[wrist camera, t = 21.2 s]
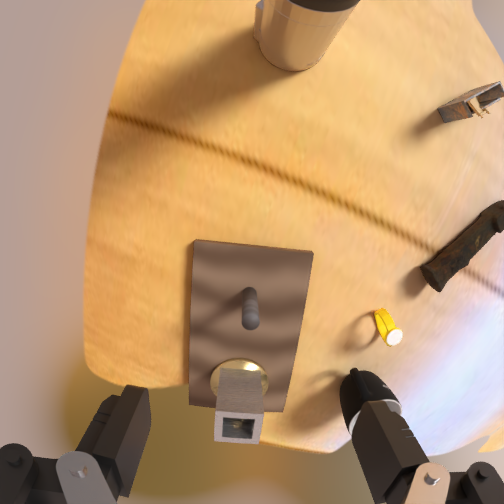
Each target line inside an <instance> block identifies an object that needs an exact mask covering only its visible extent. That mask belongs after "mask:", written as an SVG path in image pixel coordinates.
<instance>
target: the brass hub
mask: <svg viewBox="0 0 504 504" xmlns="http://www.w3.org/2000/svg"><path fill="white" fill-rule="evenodd" d="M220 367H222V368H233V369H245V370H260V372H261V384H262V396H264V395H265V393H266V391H267V389H268V376H267V373H266V371H265V369H264V368H263V367H262V366H261V365H260V364H258V363H257V362H255V361H253V360H250V359H247V358H231V359H227V360H225V361H223V362H221V363H220V364H218V365H217V366H216V367H215V368H214V370H213V372H212V375H211V380H210V385H211V389H212V391H213V393H214V394H215V395H216V396H217V393H218V384H219V376H220Z"/></svg>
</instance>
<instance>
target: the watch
mask: <svg viewBox="0 0 504 504" xmlns="http://www.w3.org/2000/svg"><path fill="white" fill-rule="evenodd" d="M374 316H375V320H376V324H377V328H378V330H379V333H380V335H381V337H382V339H383V340H384V342H385V343H386V345H387V346H390V347H391V346H393V345H396V344H397V343H399V342H400V341H401V339H402V336H403V333H402V331H401V330H400V329H399V328H397V327H396V326H395V324H394V322H393V319H392V318H391V316H390V314H389V313H388V312H387V310H386V309H384V308H381V309H379V310H377V311H375V313H374Z"/></svg>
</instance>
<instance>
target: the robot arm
mask: <svg viewBox="0 0 504 504" xmlns="http://www.w3.org/2000/svg"><path fill="white" fill-rule="evenodd" d="M359 1H360V0H261V1H259V2H258V3H257V4H256V10H255V24H254V38H255V39H256V40H257V41H258V42H259V46H260V50H261V52H262V54H263V55H264V57H265V58H266V59H267V60H268V61H269V62H270V63H271V64H273V65H275V66H277V67H278V68H281V69H284V70H289V71H301V70H306V69H308V68H311V67H312V66H314V65H315V64H316V63H317V62H318V61H319V60H320V59H321V57H322V56H323V55H324V53H325V51H326V50H327V48H328V47H329V45H330V44H331V42H332V41H333V39H334V38H335V36H336V35H337V33H338V32H339V30H340V29H341V27H342V26H343V24H344V23H345V21H346V20H347V18H348V17H349V15H350V14H351V13H352V11H353V10H354V8H355V7H356V5H357V4H358V2H359ZM150 427H151V412H150V403H149V394H148V389H147V388H144V387H138V386H133V385H126V387H125V388H124V390H123V392H122V394H121V396H116V395H111V396H110V397H108V398H107V399H106V400H104V401H103V402H102V404H101V405H100V407H99V409H98V411H97V413H96V414H95V416H94V418H93V421H91V423H90V425H89V427H88V428H87V431H86V432H85V434H84V436H83V438H82V439H81V441H80V443H79V445H78V447H77V448H76V450H75V451H72V452H68V453H65V454H64V455H62V456H61V457H60V458H59V459H49V458H41V457H33V456H32V454H31V452H30V451H29V450H28V449H27V448H26V447H25V446H23V445H20V444H14V443H12V444H7V445H5V446H3V447H2V448H1V449H0V504H117V499H118V496H119V495H120V496H124V497H129V494H130V491H131V488H132V484H133V481H134V478H135V475H136V472H137V468H138V465H139V462H140V459H141V456H142V453H143V450H144V447H145V444H146V441H147V438H148V435H149V431H150ZM352 443H353V446H354V448H355V451H356V454H357V456H358V459H359V462H360V464H361V467H362V469H363V472H364V475H365V478H366V481H367V483H368V486H369V489H370V491H371V494H372V497H373V500H374V502H375V504H380V503H385V502H386V503H387V504H504V483H503V481H502V479H501V478H500V476H499V475H498V473H497V472H496V470H495V468H494V467H493V466H491V465H490V464H488V463H486V462H476V463H474V464H472V465H471V466H470V468H469V469H468V470H467V471H466V472H448V470H447V469H446V468H445V467H444V466H442V465H440V464H437V463H432V462H429V460H428V458H427V456H426V455H425V453H424V451H423V450H422V448H421V446H420V444H419V443H418V441H417V439H416V438H415V437H414V434H413V433H412V431H411V430H410V429H409V426H408V424H407V423H406V421H405V419H404V418H403V417H401V416H400V415H399V414H398V413H396V412H395V411H394V412H391V410H390V408H389V407H388V405H387V403H386V402H385V401H384V400H380V401H367V402H364V404H363V405H362V408H361V410H360V413H359V415H358V418H357V420H356V422H355V425H354V427H353V430H352Z"/></svg>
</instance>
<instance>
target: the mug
mask: <svg viewBox="0 0 504 504" xmlns="http://www.w3.org/2000/svg"><path fill="white" fill-rule="evenodd" d="M350 374H351V375H349V376H348V377H347V378H346V379H345V380H344V381H343V383H342V385H341V388H340V402H341V408H342V412H343V416H344V420H345V423H346V426H347V429H348V431H349V433H350V435H351V436H352V430H353V427H354V425H355V422H356V420H357V418H358V415H359V413H360V410H361V408H362V405H363V404H364V402H367V401H380V400H384V401H385V402H386V403H387V405H388V407H389V408H390V410H391V412H394V411H395V412H396V413H398V414H399V415H400V416H401V414H402V407H401V404H400V403H399V401H398V399H397V398H396V397H395V395H394V394H393V393H392V391H391V390H390V389H389V388H388V386H387V385H386V384H385V383H384V382H383V381H382V380H381V379H380V378H379V377H378V376H376V375H375V374H373V373H372V372H369V371H358V369H357V368H352V369H351V370H350Z"/></svg>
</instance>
